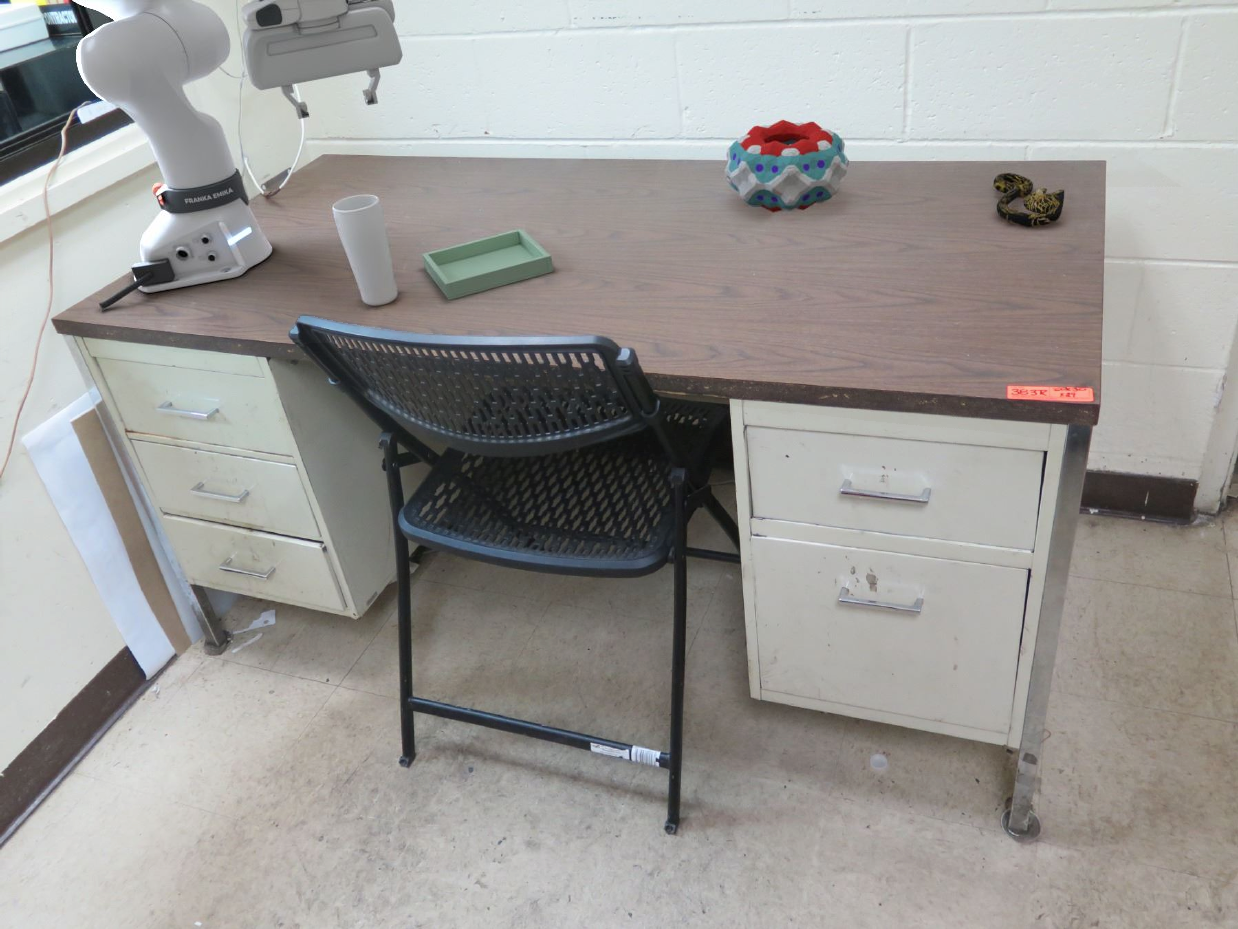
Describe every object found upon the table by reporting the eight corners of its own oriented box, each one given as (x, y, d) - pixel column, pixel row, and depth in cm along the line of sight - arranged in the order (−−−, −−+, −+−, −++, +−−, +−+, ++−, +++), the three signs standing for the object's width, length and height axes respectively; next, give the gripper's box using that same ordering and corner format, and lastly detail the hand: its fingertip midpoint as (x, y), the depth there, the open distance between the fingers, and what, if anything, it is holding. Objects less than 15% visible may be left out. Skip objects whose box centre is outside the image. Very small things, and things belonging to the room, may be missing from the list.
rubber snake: (998, 153, 156) (1066, 159, 154) (993, 181, 159) (1059, 187, 156) (991, 198, 143) (1065, 205, 140) (985, 228, 146) (1057, 235, 143)
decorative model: (810, 80, 163) (845, 109, 146) (839, 158, 170) (876, 194, 154) (705, 136, 166) (728, 171, 149) (738, 210, 174) (763, 251, 157)
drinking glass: (373, 288, 151) (348, 193, 142) (411, 290, 149) (388, 194, 140) (349, 308, 146) (321, 210, 137) (388, 310, 144) (363, 211, 135)
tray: (448, 300, 145) (445, 283, 143) (425, 269, 155) (421, 253, 154) (553, 271, 149) (551, 255, 148) (524, 243, 160) (521, 228, 158)
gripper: (384, -16, 132) (406, 91, 140) (228, 10, 126) (260, 119, 134) (394, -10, 127) (417, 100, 135) (233, 17, 122) (266, 130, 130)
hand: (338, 110), depth 135 cm, fingers open, 8 cm apart
